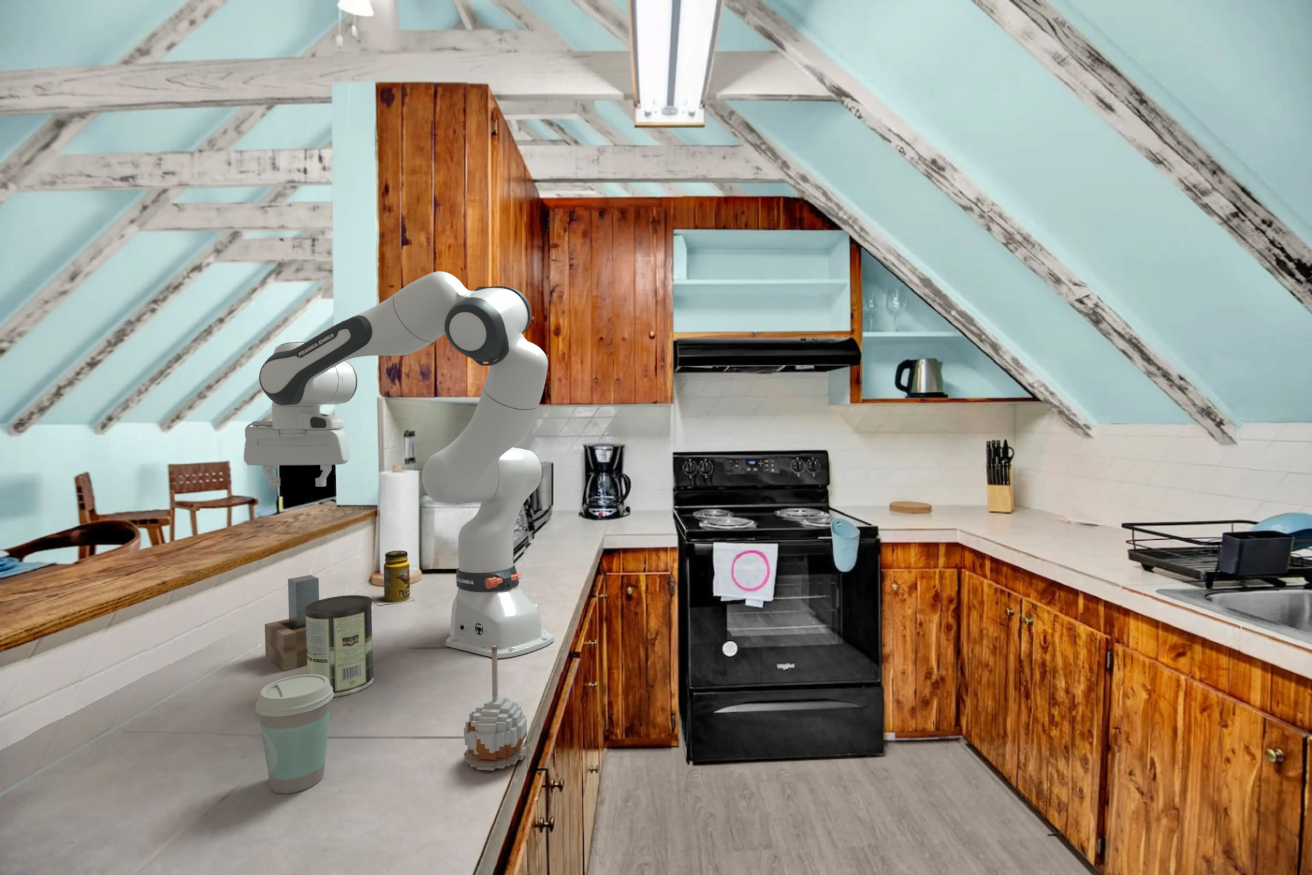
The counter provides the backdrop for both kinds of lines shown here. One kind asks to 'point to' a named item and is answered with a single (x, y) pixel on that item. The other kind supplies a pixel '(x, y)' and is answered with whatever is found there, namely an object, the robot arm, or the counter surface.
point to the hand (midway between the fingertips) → (297, 486)
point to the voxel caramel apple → (495, 730)
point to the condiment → (395, 579)
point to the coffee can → (341, 642)
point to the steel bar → (301, 598)
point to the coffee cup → (295, 730)
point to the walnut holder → (285, 645)
